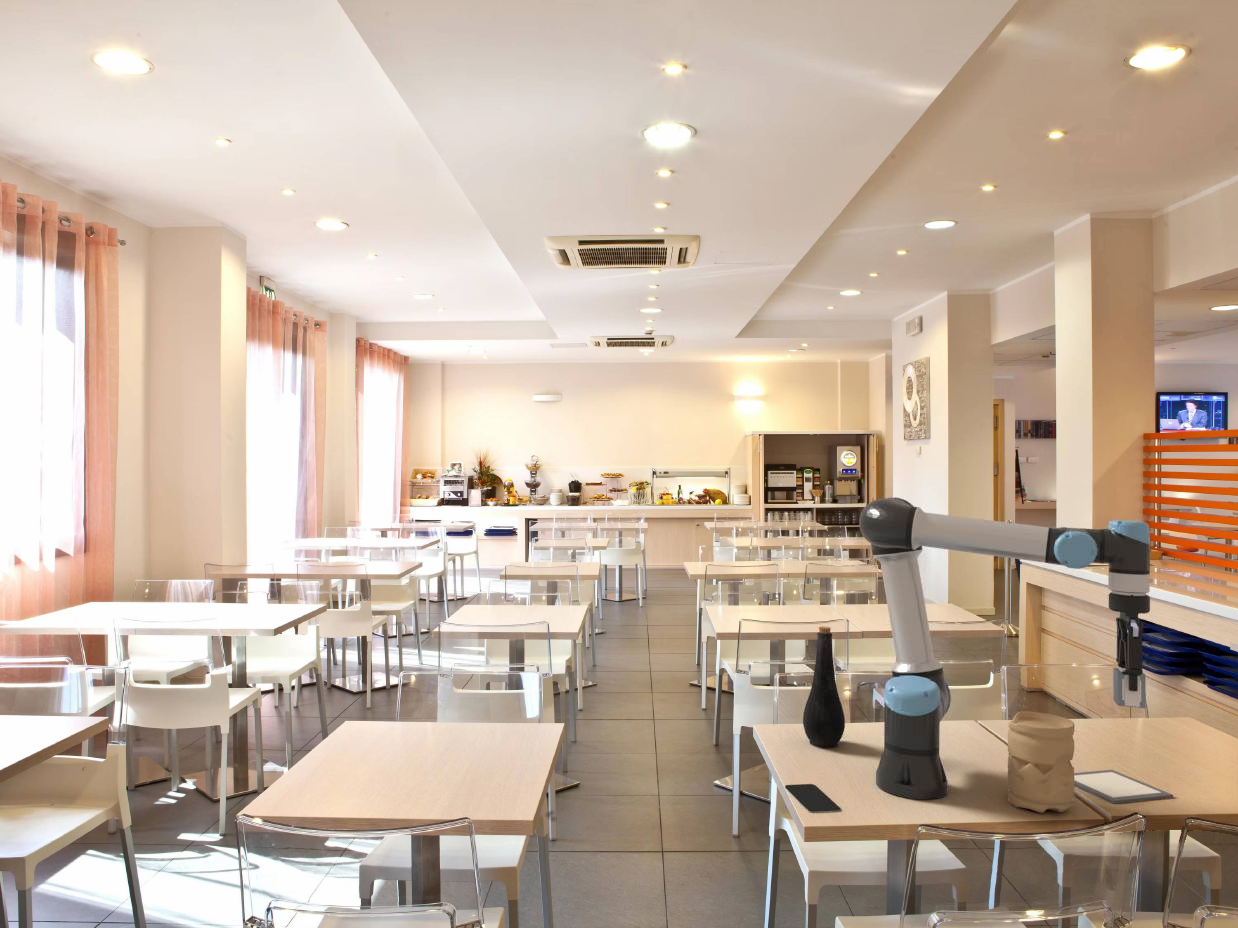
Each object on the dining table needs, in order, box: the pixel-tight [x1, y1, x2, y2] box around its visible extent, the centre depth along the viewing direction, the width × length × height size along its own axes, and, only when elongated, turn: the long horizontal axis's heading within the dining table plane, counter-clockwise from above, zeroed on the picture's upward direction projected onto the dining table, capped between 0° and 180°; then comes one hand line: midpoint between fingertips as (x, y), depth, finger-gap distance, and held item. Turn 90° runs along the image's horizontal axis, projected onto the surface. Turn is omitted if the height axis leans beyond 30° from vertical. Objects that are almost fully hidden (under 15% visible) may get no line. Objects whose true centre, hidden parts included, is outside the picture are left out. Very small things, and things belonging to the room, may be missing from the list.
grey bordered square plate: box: [1074, 769, 1174, 805], centre depth 185 cm, size 16×16×1 cm
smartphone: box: [784, 783, 842, 814], centre depth 176 cm, size 7×1×15 cm
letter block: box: [1112, 667, 1147, 709], centre depth 175 cm, size 5×5×7 cm
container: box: [1007, 710, 1075, 814], centre depth 174 cm, size 13×13×18 cm
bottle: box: [802, 626, 846, 749], centre depth 213 cm, size 11×11×30 cm
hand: (1128, 702), depth 175 cm, fingers closed on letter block, 5 cm apart
